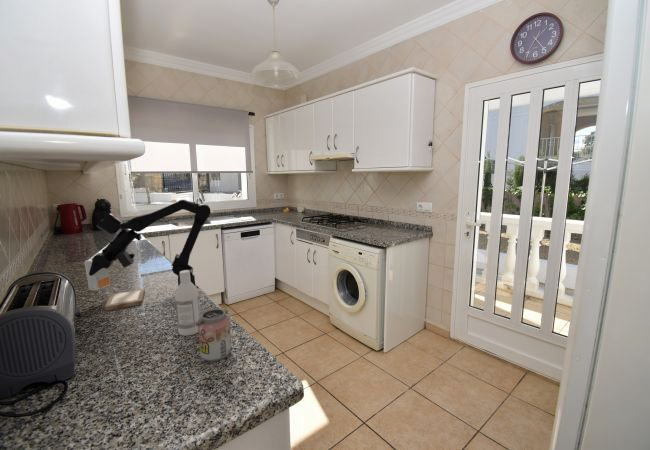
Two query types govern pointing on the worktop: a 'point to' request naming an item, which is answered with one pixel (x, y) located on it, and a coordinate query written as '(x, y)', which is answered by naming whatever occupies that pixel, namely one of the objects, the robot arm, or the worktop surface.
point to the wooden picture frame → (125, 299)
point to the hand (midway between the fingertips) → (93, 272)
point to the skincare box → (97, 277)
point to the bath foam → (187, 305)
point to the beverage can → (214, 334)
